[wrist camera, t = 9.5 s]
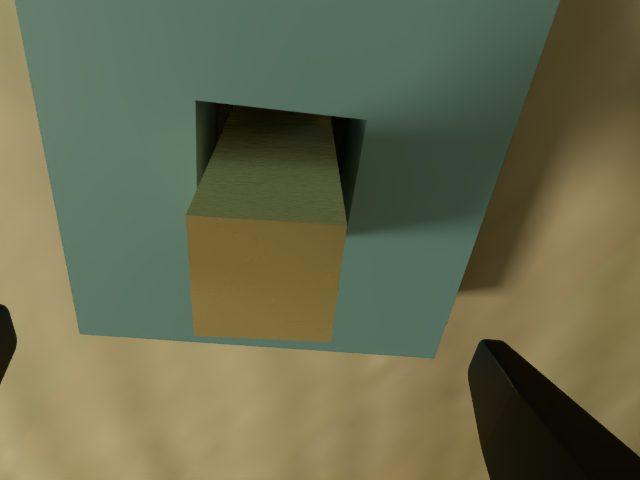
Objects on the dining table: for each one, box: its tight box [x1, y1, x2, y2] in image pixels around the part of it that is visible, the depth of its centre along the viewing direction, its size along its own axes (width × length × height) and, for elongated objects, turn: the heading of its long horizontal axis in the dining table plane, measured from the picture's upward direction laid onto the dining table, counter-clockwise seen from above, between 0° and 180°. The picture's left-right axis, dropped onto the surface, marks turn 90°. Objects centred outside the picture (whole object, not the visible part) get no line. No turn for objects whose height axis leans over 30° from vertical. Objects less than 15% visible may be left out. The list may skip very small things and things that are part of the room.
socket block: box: [15, 0, 560, 358], centre depth 17 cm, size 14×14×4 cm
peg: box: [186, 105, 347, 342], centre depth 15 cm, size 3×3×9 cm
